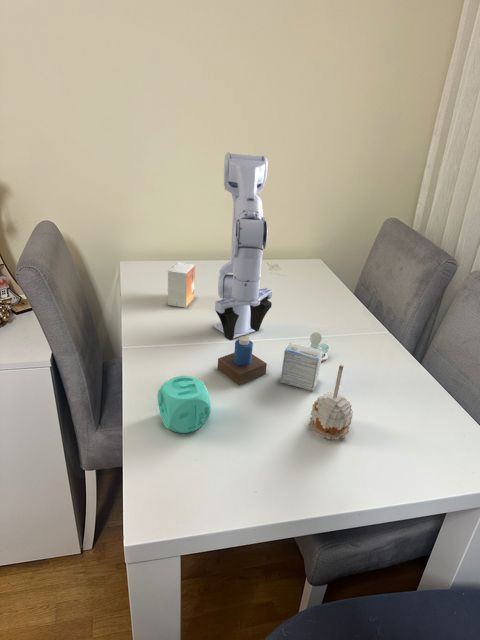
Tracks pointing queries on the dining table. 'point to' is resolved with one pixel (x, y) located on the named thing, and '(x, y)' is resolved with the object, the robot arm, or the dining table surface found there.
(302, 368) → the medicine box
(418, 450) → the dining table surface
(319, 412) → the caramel apple
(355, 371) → the dining table surface
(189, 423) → the decorative dice
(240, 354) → the blue bottle
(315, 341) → the pacifier
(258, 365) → the walnut block
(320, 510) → the dining table surface
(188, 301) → the small box
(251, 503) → the dining table surface
